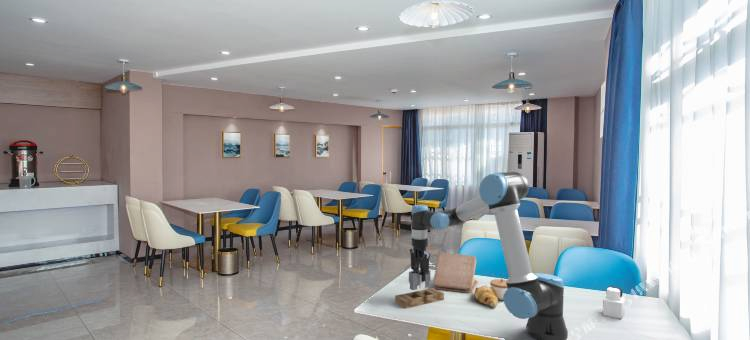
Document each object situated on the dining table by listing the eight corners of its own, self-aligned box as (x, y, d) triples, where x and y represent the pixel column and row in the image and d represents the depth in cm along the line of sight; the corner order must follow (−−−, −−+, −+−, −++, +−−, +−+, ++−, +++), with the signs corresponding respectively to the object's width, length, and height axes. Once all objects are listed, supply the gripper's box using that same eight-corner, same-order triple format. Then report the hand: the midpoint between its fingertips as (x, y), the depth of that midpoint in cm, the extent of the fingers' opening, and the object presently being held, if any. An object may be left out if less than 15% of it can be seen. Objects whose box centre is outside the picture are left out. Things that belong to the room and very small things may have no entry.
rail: (432, 294, 217) (432, 287, 217) (444, 299, 209) (444, 293, 209) (395, 302, 206) (395, 295, 206) (405, 308, 198) (405, 301, 198)
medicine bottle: (606, 310, 194) (607, 283, 194) (624, 314, 190) (625, 287, 189) (602, 315, 189) (603, 288, 188) (621, 319, 184) (622, 291, 184)
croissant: (500, 316, 197) (509, 300, 197) (482, 306, 195) (491, 290, 195) (481, 299, 218) (489, 285, 218) (464, 290, 216) (472, 276, 216)
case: (431, 289, 225) (432, 259, 224) (441, 278, 244) (442, 249, 243) (471, 295, 217) (472, 263, 216) (478, 282, 236) (479, 253, 235)
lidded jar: (493, 302, 205) (493, 282, 205) (487, 294, 216) (488, 275, 215) (516, 302, 205) (516, 282, 204) (509, 294, 216) (509, 276, 215)
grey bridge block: (425, 285, 211) (425, 268, 211) (430, 287, 208) (430, 270, 208) (408, 288, 206) (408, 271, 206) (413, 290, 203) (413, 273, 203)
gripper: (437, 240, 201) (436, 290, 202) (416, 233, 215) (415, 280, 216) (423, 242, 197) (423, 293, 198) (403, 235, 211) (403, 283, 213)
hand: (419, 286), depth 207 cm, fingers closed on grey bridge block, 3 cm apart
